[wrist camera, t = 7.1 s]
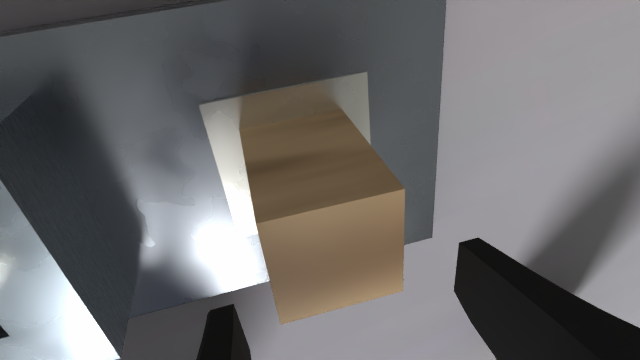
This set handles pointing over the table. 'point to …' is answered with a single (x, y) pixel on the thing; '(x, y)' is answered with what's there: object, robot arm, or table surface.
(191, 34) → the base
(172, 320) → the table surface
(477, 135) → the table surface
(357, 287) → the oak block
